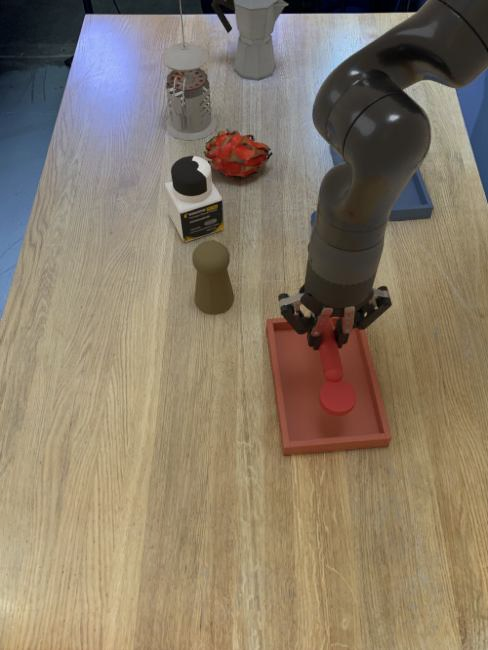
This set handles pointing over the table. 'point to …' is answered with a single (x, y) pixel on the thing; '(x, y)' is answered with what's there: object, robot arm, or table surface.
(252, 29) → the coffee maker
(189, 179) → the medicine bottle
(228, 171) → the dragon fruit
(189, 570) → the table surface
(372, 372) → the red tray
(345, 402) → the red spoon
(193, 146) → the table surface
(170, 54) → the french press
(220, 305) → the cork
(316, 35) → the table surface
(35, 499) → the table surface
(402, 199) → the blue tray
